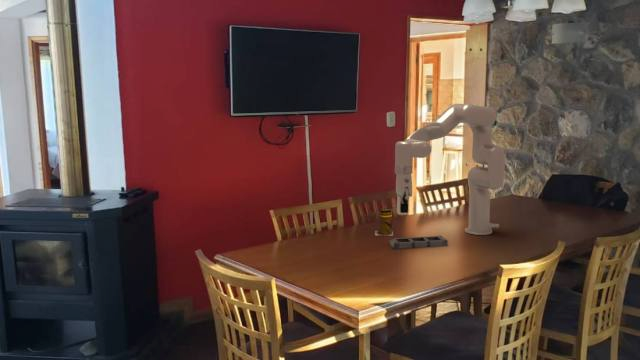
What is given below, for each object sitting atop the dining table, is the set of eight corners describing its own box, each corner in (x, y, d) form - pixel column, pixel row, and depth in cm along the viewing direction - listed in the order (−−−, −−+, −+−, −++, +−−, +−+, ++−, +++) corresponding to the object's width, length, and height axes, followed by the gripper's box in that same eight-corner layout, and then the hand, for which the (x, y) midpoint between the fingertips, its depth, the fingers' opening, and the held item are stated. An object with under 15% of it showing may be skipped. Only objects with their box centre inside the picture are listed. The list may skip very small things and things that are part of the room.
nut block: (405, 212, 250) (406, 193, 248) (408, 214, 246) (408, 195, 245) (396, 212, 249) (397, 194, 248) (399, 214, 245) (399, 195, 244)
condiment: (393, 235, 267) (393, 211, 265) (374, 235, 268) (375, 210, 266) (392, 232, 274) (392, 207, 272) (374, 231, 275) (375, 207, 273)
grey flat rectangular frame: (441, 241, 257) (441, 235, 256) (447, 246, 249) (447, 240, 248) (389, 243, 253) (389, 238, 253) (394, 248, 245) (394, 243, 245)
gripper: (418, 172, 237) (417, 215, 240) (406, 167, 253) (405, 207, 256) (400, 172, 236) (399, 215, 239) (390, 167, 252) (389, 207, 255)
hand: (402, 211), depth 247 cm, fingers closed on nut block, 4 cm apart
